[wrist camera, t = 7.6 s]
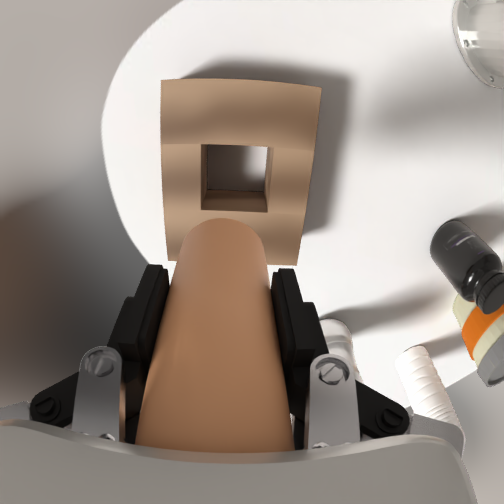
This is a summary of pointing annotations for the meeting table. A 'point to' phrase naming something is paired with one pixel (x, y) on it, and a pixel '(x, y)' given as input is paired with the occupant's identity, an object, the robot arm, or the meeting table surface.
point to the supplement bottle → (469, 265)
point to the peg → (217, 351)
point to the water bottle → (425, 387)
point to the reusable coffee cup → (483, 339)
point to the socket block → (238, 133)
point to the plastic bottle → (340, 342)
